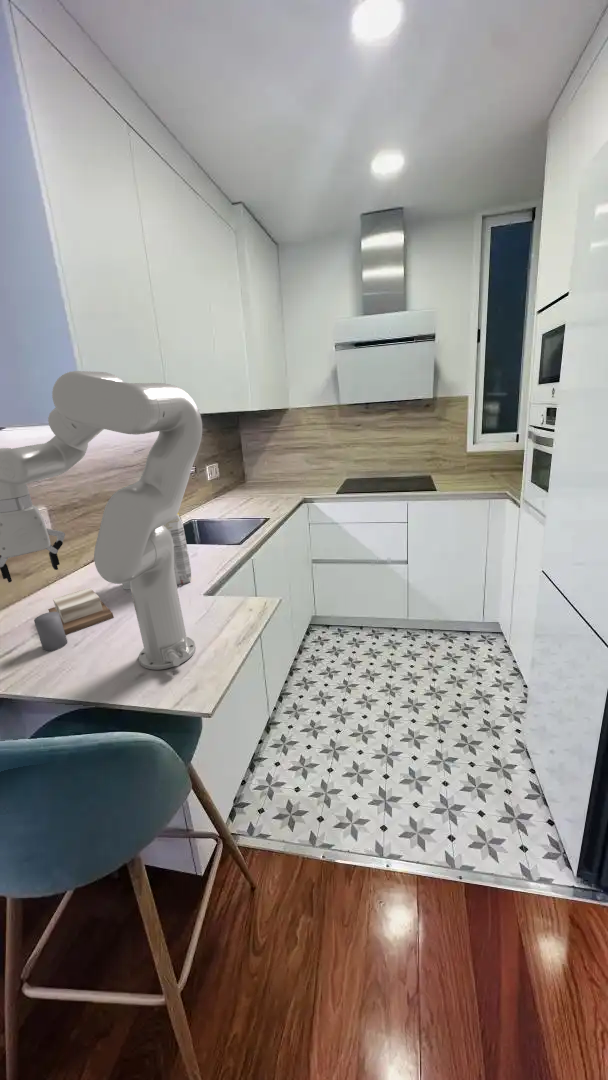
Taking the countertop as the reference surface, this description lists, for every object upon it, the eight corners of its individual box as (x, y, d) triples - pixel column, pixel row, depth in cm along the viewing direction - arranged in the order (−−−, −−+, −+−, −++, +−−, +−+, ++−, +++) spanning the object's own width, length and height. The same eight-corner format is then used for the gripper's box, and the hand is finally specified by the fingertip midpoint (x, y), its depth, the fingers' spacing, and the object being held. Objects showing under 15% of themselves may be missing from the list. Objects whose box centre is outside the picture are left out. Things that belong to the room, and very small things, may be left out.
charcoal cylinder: (69, 645, 110) (61, 616, 107) (45, 654, 107) (36, 625, 104) (64, 637, 114) (56, 609, 111) (41, 645, 111) (32, 617, 108)
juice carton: (191, 574, 148) (178, 505, 141) (193, 582, 141) (181, 510, 134) (162, 580, 146) (148, 510, 138) (164, 589, 138) (149, 515, 131)
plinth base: (113, 617, 122) (109, 599, 121) (62, 635, 115) (57, 616, 113) (96, 598, 136) (91, 582, 134) (49, 613, 128) (44, 596, 127)
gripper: (-34, 515, 91) (-9, 590, 96) (58, 499, 101) (76, 567, 107) (-35, 510, 97) (-12, 581, 102) (51, 495, 107) (69, 560, 112)
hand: (33, 574), depth 104 cm, fingers open, 9 cm apart
